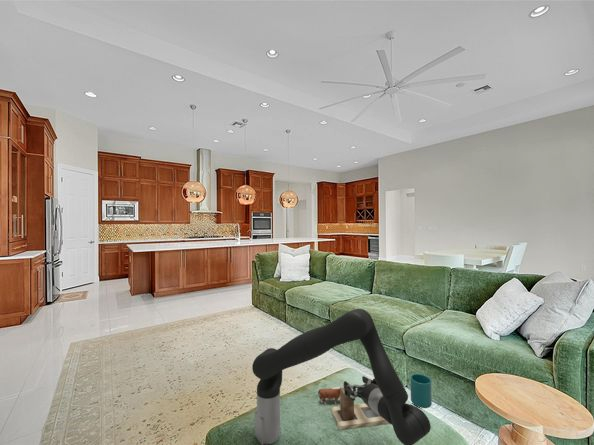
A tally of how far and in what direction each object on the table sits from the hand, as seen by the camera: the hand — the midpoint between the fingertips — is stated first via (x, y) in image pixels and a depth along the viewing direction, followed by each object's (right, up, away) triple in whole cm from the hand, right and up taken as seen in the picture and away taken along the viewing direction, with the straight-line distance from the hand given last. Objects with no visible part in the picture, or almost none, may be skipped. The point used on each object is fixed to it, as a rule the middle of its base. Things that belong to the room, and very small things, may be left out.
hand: (353, 381), depth 112 cm
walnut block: (-1, -20, +7) cm, 21 cm away
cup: (+36, -21, +20) cm, 46 cm away
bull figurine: (-6, -21, +18) cm, 28 cm away
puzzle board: (+4, -21, +8) cm, 22 cm away
